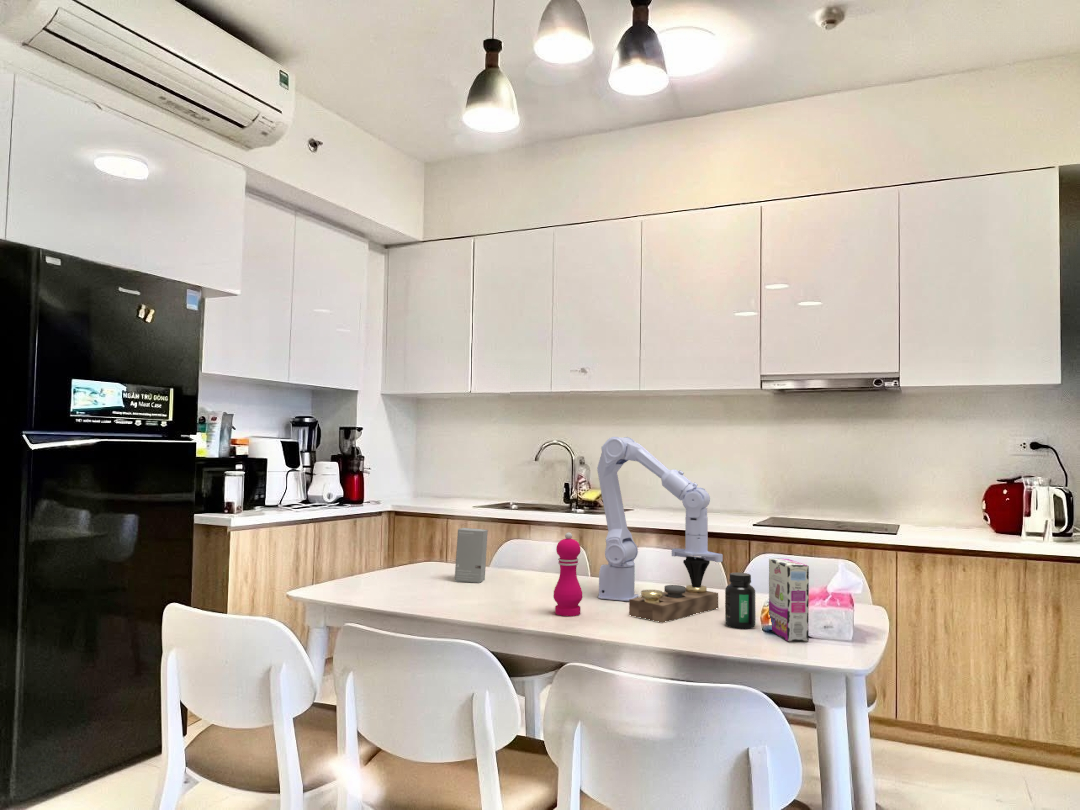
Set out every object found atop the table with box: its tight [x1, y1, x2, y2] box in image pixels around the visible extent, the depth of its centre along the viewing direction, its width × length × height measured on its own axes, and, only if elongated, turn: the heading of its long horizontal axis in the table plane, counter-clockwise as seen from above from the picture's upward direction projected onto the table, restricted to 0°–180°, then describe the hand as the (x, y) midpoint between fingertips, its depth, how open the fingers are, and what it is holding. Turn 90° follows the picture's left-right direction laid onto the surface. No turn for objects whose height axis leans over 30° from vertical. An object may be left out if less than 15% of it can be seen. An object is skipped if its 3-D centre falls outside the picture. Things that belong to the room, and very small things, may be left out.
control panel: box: [628, 586, 719, 623], centre depth 189 cm, size 24×10×4 cm, turn 134°
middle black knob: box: [663, 584, 686, 598], centre depth 190 cm, size 5×5×5 cm
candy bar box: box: [768, 558, 810, 643], centre depth 167 cm, size 11×5×16 cm, turn 5°
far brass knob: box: [685, 584, 708, 594], centre depth 196 cm, size 5×5×5 cm
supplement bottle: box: [724, 572, 757, 630], centre depth 176 cm, size 7×7×12 cm
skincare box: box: [454, 527, 489, 584], centre depth 230 cm, size 8×7×16 cm
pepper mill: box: [553, 532, 584, 617], centre depth 187 cm, size 7×7×20 cm
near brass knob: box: [640, 589, 664, 604], centre depth 183 cm, size 5×5×5 cm
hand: (696, 587), depth 196 cm, fingers closed, pressing on far brass knob
